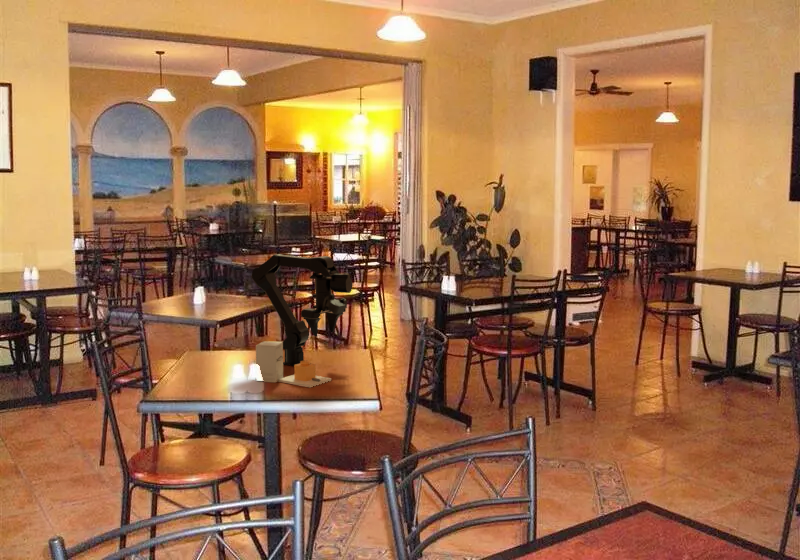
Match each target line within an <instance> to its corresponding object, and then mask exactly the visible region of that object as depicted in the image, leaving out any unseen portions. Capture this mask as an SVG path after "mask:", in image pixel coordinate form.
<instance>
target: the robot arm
mask: <svg viewBox="0 0 800 560" xmlns="http://www.w3.org/2000/svg"><path fill="white" fill-rule="evenodd" d="M281 267H290V268H298V269H305V270H308V271H309V272H312V275H311V276H309V279H310V280H314V283H315V287H314V289H315V293H313V295H312V297H313V298H315V304H314V305H313V306H312V308H310V307H308V308H303V309H302V310H301V311H300V318H303V319H302V320H298V319H297V318H296V317H295V314H294V313H293V312H292V309H291V308H290V306H289V305H288V302H287V301H286V299H285V298H284V295H283V294H282V292H281V290H280V289H279V287H278V285H277V277H276V272H278V270H279V269H280V268H281ZM251 279H252V281H253V282H254V284H256V286H257V287H258V288H260V289H261V290H262V291H264V292H265V294H266V295H267V297H268V299H269V301H270V302H271V304H272V306H273V309H275V311H276V313H277V314H278V316H279V318H280V320H281V322H282V323H283V326H284V327H283V328H284V334H285V336H286V338H285V339H283V341H282V342H283V350H284V361H283V365H285V366H286V365H287V366H291V367H294V365H296V364H300V361H304V360H305V358H304V355H305V354H304V348H303V347H304V346H305V345H306V341H308V339H309V338H310V331H311V332H312V335H313V337H317V336H318V333H319V332H318V330H319V329H318V328H319V322H320V320H321V319H322V317H321V314H326V317H327V323H328V328H329V331H330V332H331V333H334V332H335V328H336V326H337V325H336V324H337V322H338V319H339V318H340V317H341V316H342V315H344V313H346V310H347V309H348V301H347V299H346V298H344V297H343V298H340V299H336V298H335V297H336V296H335V294H334V293H344V294H345V293H346V294H347V293H348V294H350V293H351V292H352V290H353V280H352V277H351V275H350V273H340V272H339V270H338V269H337V267H336V266H335V264H334V260H333V259H332V258H331V257H330V256H328V255H322V256H313V257H306V256H295V255H286V254H282V253H278V254H277V253H276V254H272V255H271V257H269V259H267V260H266V261H265V262H262V264H261V265H260V266H258V267H255V268H254V269H253V270H252V271H251ZM332 291H333V292H334V293H332ZM304 320H305V321H306V322H305V321H304ZM306 323H307V325H308V326H309V327H308V326H307V325H306ZM309 330H310V331H309Z"/></svg>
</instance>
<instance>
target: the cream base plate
mask: <svg viewBox="0 0 800 560" xmlns="http://www.w3.org/2000/svg"><path fill="white" fill-rule="evenodd" d="M328 381H329V382H331V381H332V378H331V377H326V376H325V377H324V376H321V375H316V378H312V380H309V381H301V380H296V379H295V378H294V374H291V375H288V376H285V377H284V376H283V378H281V379H278V381H277V382H279V383H284V384H289V385H294V386H300V387H306V388H313V386H314V387H317V386H319V384H320V385H322V383H323V384H325V382H326V383H329V382H328ZM316 385H317V386H316Z"/></svg>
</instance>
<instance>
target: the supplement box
mask: <svg viewBox="0 0 800 560" xmlns="http://www.w3.org/2000/svg"><path fill="white" fill-rule="evenodd" d="M283 362H284V349H283V341H269V340H267V341H265V340H263V341H261V342H259V343H258V344H256V345H255V365H256V364H258V365H259V366H260V370H261V374H262V377H263V380H264V382H263V383H277V382H278V379H281V378H284V364H283Z"/></svg>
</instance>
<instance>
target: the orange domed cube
mask: <svg viewBox="0 0 800 560" xmlns="http://www.w3.org/2000/svg"><path fill="white" fill-rule="evenodd" d="M293 367H294V374H293V375H294V378H295V379H296V380H301V381H309V380H312V378H316V376H317V375H316V363H310V360H305V359H304V361H300V364H296V365H294V366H293Z"/></svg>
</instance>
